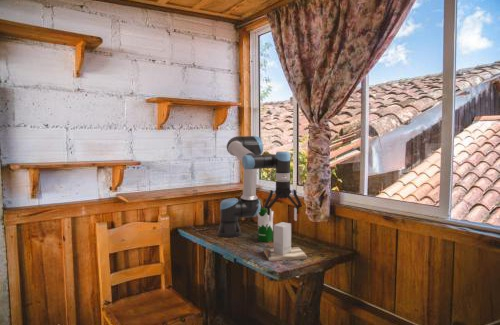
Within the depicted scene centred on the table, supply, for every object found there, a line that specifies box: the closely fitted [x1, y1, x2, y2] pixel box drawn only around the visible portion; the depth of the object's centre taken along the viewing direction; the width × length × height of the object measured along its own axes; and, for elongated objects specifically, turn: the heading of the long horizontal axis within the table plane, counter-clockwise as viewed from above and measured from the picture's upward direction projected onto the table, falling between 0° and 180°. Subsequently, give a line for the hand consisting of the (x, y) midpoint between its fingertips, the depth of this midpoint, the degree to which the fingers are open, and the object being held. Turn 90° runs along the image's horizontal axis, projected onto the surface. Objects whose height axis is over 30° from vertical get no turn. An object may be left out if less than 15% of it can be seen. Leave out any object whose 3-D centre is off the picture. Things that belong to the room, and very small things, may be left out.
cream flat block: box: [263, 242, 308, 262], centre depth 193 cm, size 16×21×5 cm
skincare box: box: [273, 221, 292, 255], centre depth 192 cm, size 8×7×16 cm
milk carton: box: [256, 207, 275, 244], centre depth 222 cm, size 9×9×20 cm
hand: (282, 220), depth 192 cm, fingers open, 13 cm apart
